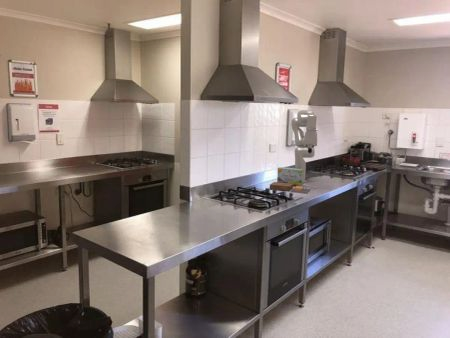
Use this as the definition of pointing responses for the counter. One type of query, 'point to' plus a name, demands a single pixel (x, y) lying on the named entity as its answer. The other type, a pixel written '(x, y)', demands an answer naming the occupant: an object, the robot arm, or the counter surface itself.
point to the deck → (281, 186)
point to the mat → (302, 191)
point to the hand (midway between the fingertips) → (309, 153)
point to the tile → (298, 188)
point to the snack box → (290, 176)
